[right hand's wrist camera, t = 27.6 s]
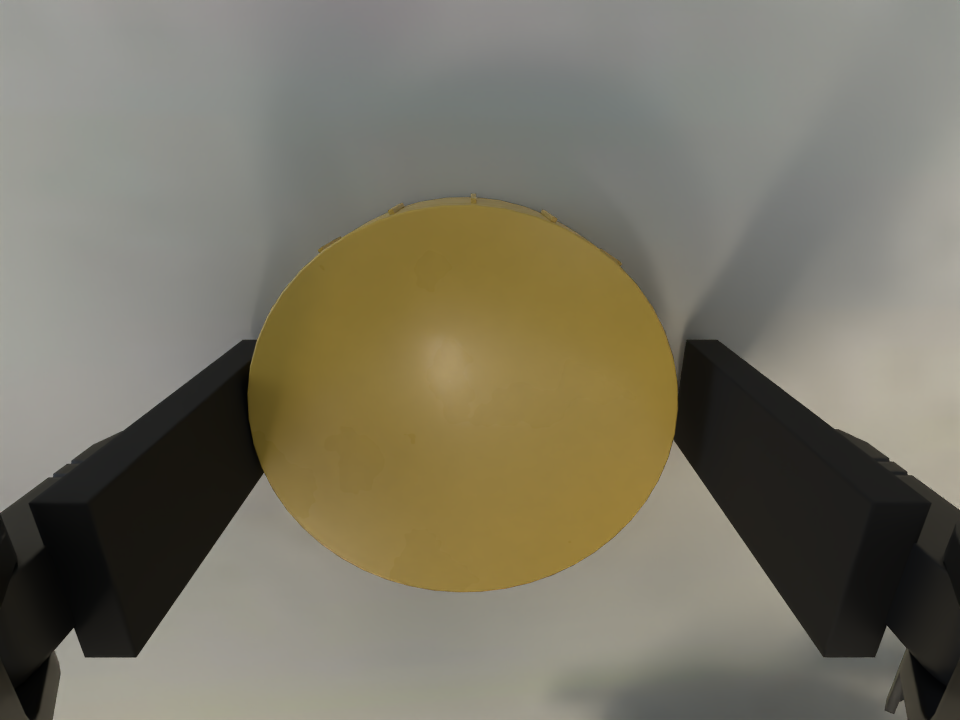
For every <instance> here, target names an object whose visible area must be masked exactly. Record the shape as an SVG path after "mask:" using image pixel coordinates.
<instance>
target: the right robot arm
mask: <svg viewBox="0 0 960 720" xmlns="http://www.w3.org/2000/svg"><path fill="white" fill-rule="evenodd" d="M256 342H257V340H242V341H241V342H239V343H238V344H237V345H236V346H234V347H233V348H232V349H230V350H229V351H228V352H226V353H225V354H224V355H222V356H221V357H220V358H218V359H217V360H216V361H214V362H213V363H212V364H211V365H209V366H208V367H207V368H205V369H204V370H203V371H201V372H200V373H199V374H197V375H196V376H195V377H193V378H192V379H191V380H189V381H188V382H187V383H186V384H184V385H183V386H182V387H180V388H179V389H178V390H176V391H175V392H174V393H172V394H171V395H170V396H168V397H167V398H166V399H165V400H163V401H162V402H161V403H159V404H158V405H157V406H155V407H154V408H153V409H151V410H150V411H149V412H147V413H146V414H145V415H143V416H142V417H141V418H140V419H138V420H137V421H136V422H134V423H133V424H132V425H130V426H129V427H128V428H126V429H125V430H124V431H121V432H119V433H117V434H115V435H113V436H111V437H109V438H106V439H104V440H102V441H100V442H98V443H96V444H94V445H92V446H91V447H89V448H88V449H87V450H85V451H84V452H83V453H81V454H80V455H79V456H77V457H76V458H74V459H73V460H72V463H71V464H66V465H65V466H64V467H62V468H61V469H60V470H58V471H57V472H55V473H54V474H53V478H47V479H46V480H45V481H43V482H42V483H41V484H39V485H38V486H36V487H35V488H34V489H32V490H31V491H30V492H28V493H27V494H26V495H24V496H23V497H22V498H20V499H19V500H17V501H16V502H15V503H13V504H12V505H11V506H9V507H8V508H7V509H5V510H4V511H3V512H1V513H0V720H53V714H54V709H55V703H56V697H57V691H58V686H59V680H60V674H61V673H60V666H59V661H58V659H57V656H56V654H55V651H54V650H55V649H56V648H57V646H58V645H59V644H60V643H61V642H62V641H63V640H64V638H65V637H66V636H67V635H68V634H69V633H70V631H71V630H72V629H73V628H74V629H75V632H76V634H77V637H78V640H79V643H80V645H81V648H82V651H83V653H84V656H85V657H137V656H138V654H139V653H140V651H141V650H142V648H143V647H144V645H145V644H146V643H147V641H148V640H149V638H150V637H151V635H152V634H153V632H154V631H155V630H156V628H157V627H158V625H159V624H160V622H161V621H162V619H163V618H164V617H165V615H166V614H167V612H168V611H169V609H170V608H171V606H172V605H173V603H174V602H175V601H176V599H177V598H178V596H179V595H180V593H181V592H182V590H183V589H184V588H185V586H186V585H187V583H188V582H189V580H190V579H191V577H192V576H193V575H194V573H195V572H196V570H197V569H198V567H199V566H200V564H201V563H202V561H203V560H204V559H205V557H206V556H207V554H208V553H209V551H210V550H211V548H212V547H213V546H214V544H215V543H216V541H217V540H218V538H219V537H220V535H221V534H222V533H223V531H224V530H225V528H226V527H227V525H228V524H229V522H230V521H231V520H232V518H233V517H234V515H235V514H236V512H237V511H238V509H239V508H240V506H241V505H242V504H243V502H244V501H245V499H246V498H247V496H248V495H249V493H250V492H251V491H252V489H253V488H254V486H255V485H256V483H257V482H258V480H259V479H260V478H261V476H262V475H263V473H264V471H263V469H262V467H261V464H260V461H259V458H258V455H257V452H256V450H255V447H254V444H253V439H252V433H251V428H250V423H249V415H248V394H247V392H248V382H249V373H250V365H251V361H252V357H253V354H254V350H255V346H256ZM673 440H674V441H675V443H676V444H677V445H678V447H679V448H680V450H681V451H682V453H683V454H684V456H685V457H686V459H687V460H688V461H689V463H690V464H691V466H692V467H693V469H694V470H695V472H696V473H697V474H698V476H699V477H700V479H701V480H702V482H703V483H704V485H705V486H706V487H707V489H708V490H709V492H710V493H711V495H712V496H713V498H714V499H715V501H716V502H717V503H718V505H719V506H720V508H721V509H722V511H723V512H724V514H725V515H726V516H727V518H728V519H729V521H730V522H731V524H732V525H733V527H734V528H735V530H736V531H737V532H738V534H739V535H740V537H741V538H742V540H743V541H744V543H745V544H746V545H747V547H748V548H749V550H750V551H751V553H752V554H753V556H754V557H755V558H756V560H757V561H758V563H759V564H760V566H761V567H762V569H763V570H764V572H765V573H766V574H767V576H768V577H769V579H770V580H771V582H772V583H773V585H774V586H775V587H776V589H777V590H778V592H779V593H780V595H781V596H782V598H783V599H784V600H785V602H786V603H787V605H788V606H789V608H790V609H791V611H792V612H793V614H794V615H795V616H796V618H797V619H798V621H799V622H800V624H801V625H802V627H803V628H804V629H805V631H806V632H807V634H808V635H809V637H810V638H811V640H812V641H813V643H814V644H815V645H816V647H817V648H818V650H819V651H820V653H821V654H822V656H823V657H875V656H876V653H877V650H878V648H879V645H880V642H881V640H882V637H883V634H884V631H885V629H886V626H888V627H889V628H890V630H891V631H892V632H893V633H894V634H895V635H896V636H897V638H898V639H899V640H900V641H901V642H902V643H903V644H904V646H905V647H906V648H907V649H906V651H905V654H904V656H903V659H902V661H901V664H900V666H899V669H898V671H897V674H896V676H895V679H894V682H893V684H892V687H891V689H890V692H889V694H888V697H887V700H886V706H885V711H887V712H890V713H892V714H894V713H895V711H896V708H897V706H898V704H899V702H900V701H902V700H904V701H905V707H906V713H907V718H908V720H960V510H959V509H957V508H956V507H955V506H953V505H952V504H951V503H949V502H948V501H947V500H945V499H944V498H942V497H941V496H940V495H938V494H937V493H936V492H934V491H933V490H931V489H930V488H929V487H927V486H926V485H925V484H923V483H922V482H921V481H919V480H918V479H916V478H915V477H914V476H912V475H908V474H907V471H905V470H904V469H903V468H901V467H900V466H899V465H897V464H896V463H895V462H890V461H889V458H888V457H886V456H885V455H884V454H882V453H881V452H880V451H878V450H877V449H875V448H874V447H873V446H871V445H870V444H869V443H867V442H865V441H863V440H861V439H858V438H856V437H854V436H852V435H850V434H848V433H845V432H843V431H841V430H839V429H834V428H832V427H831V426H830V425H828V424H827V423H826V422H825V421H823V420H822V419H821V418H819V417H818V416H817V415H815V414H814V413H813V412H811V411H810V410H809V409H807V408H806V407H805V406H803V405H802V404H801V403H800V402H798V401H797V400H796V399H794V398H793V397H792V396H790V395H789V394H788V393H786V392H785V391H784V390H782V389H781V388H780V387H779V386H777V385H776V384H775V383H773V382H772V381H771V380H769V379H768V378H767V377H765V376H764V375H763V374H761V373H760V372H759V371H757V370H756V369H755V368H754V367H752V366H751V365H750V364H748V363H747V362H746V361H744V360H743V359H742V358H740V357H739V356H738V355H736V354H735V353H734V352H733V351H731V350H730V349H729V348H727V347H726V346H725V345H723V344H722V343H721V342H719V341H718V340H686V346H685V353H684V360H683V367H682V373H681V380H680V387H679V393H678V413H677V420H676V428H675V435H674V439H673Z"/></svg>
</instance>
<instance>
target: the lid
mask: <svg viewBox="0 0 960 720" xmlns="http://www.w3.org/2000/svg"><path fill="white" fill-rule="evenodd" d="M318 251H319V254H318V255H317V256H316V257H315V258H314V259H313V260H311V261H310V262H309V263H308V264H307V265H306V266H305V267H303V268H302V269H301V270H300V271H299V273H298V274H297V275H296V276H295V277H294V279H293V280H292V281H291V282H290V283H289V284H288V286H287V287H286V288H285V289H284V290H283V291H282V293H281V295H280V296H279V298H278V300H277V301H276V303H275V304H274V305H273V307H272V308H271V311H270V312H269V314H268V316H267V318H266V320H265V323H264V325H263V327H262V330H261V332H260V334H259V337H258V339H257V342H256V346H255V350H254V354H253V357H252V361H251V365H250V373H249V382H248V392H247V394H248V415H249V423H250V428H251V433H252V439H253V444H254V447H255V450H256V452H257V455H258V458H259V461H260V464H261V467H262V469H263V471H264V473H265V475H266V477H267V479H268V481H269V483H270V485H271V487H272V489H273V490H274V492H275V493H276V495H277V496H278V498H279V499H280V501H281V502H282V503H283V505H284V506H285V508H286V509H287V511H288V512H289V513H290V514H291V515H292V516H293V517H294V518H295V520H296V521H297V522H298V523H299V524H300V525H301V526H302V527H303V528H304V529H305V530H306V531H307V532H308V533H309V534H310V535H311V536H313V537H314V538H315V539H316V540H317V541H318V542H319V543H321V544H322V545H323V546H325V547H326V548H327V549H329V550H330V551H332V552H333V553H335V554H336V555H338V556H339V557H340V558H342V559H344V560H346V561H347V562H349V563H351V564H353V565H355V566H357V567H359V568H360V569H362V570H364V571H367V572H369V573H372V574H374V575H377V576H379V577H382V578H384V579H387V580H390V581H394V582H397V583H401V584H404V585H407V586H412V587H417V588H423V589H429V590H435V591H448V592H482V591H490V590H498V589H506V588H510V587H514V586H519V585H523V584H527V583H531V582H534V581H537V580H539V579H542V578H545V577H548V576H551V575H554V574H556V573H558V572H560V571H562V570H564V569H566V568H568V567H570V566H573V565H575V564H576V563H578V562H579V561H581V560H583V559H584V558H586V557H588V556H589V555H591V554H592V553H594V552H596V551H597V550H598V549H599V548H601V547H602V546H603V545H605V544H606V543H607V542H608V541H610V540H611V539H612V538H613V537H615V536H616V535H617V534H618V533H619V532H620V531H621V530H622V529H623V528H624V527H625V526H626V525H627V524H628V523H629V522H630V521H631V520H632V518H633V517H634V516H635V514H636V513H637V512H638V511H639V509H640V508H641V507H642V506H643V504H644V503H645V502H646V500H647V499H648V497H649V495H650V494H651V492H652V490H653V489H654V487H655V485H656V484H657V482H658V480H659V478H660V476H661V473H662V471H663V469H664V466H665V464H666V462H667V459H668V457H669V453H670V449H671V446H672V442H673V439H674V435H675V428H676V420H677V413H678V383H677V377H676V370H675V364H674V358H673V355H672V352H671V349H670V346H669V342H668V339H667V336H666V333H665V331H664V329H663V327H662V324H661V322H660V321H659V319H658V317H657V315H656V313H655V311H654V309H653V307H652V305H651V304H650V303H649V301H648V300H647V298H646V297H645V295H644V294H643V293H642V291H641V290H640V288H639V287H638V285H637V284H636V283H635V282H634V281H633V280H632V279H631V278H630V277H629V275H628V274H627V273H626V272H625V271H624V270H623V269H622V268H621V267H620V266H621V265H622V263H621V262H620V261H618V260H617V259H616V258H614V257H613V256H611V255H610V254H608V253H607V252H605V251H604V250H602V249H601V248H600V249H599V248H597V247H596V246H595V245H594V244H592V243H591V242H589V241H588V240H586V239H585V238H583V237H582V236H581V235H579V234H578V233H576V232H575V231H573V230H572V229H570V228H568V227H567V226H565V225H563V224H561V223H560V222H558V221H557V218H556V217H554V216H553V215H551V214H550V213H548V212H547V211H545V210H542V211H541V213H539V212H537V211H535V210H532V209H530V208H527V207H524V206H520V205H516V204H513V203H509V202H505V201H501V200H494V199H485V198H477V197H476V194H471V197H453V198H441V199H434V200H428V201H422V202H417V203H414V204H411V205H408V206H404V204H403V203H400V204H398V205H396V206H395V207H393V208H391V209H390V210H388V213H386V214H383V215H381V216H379V217H377V218H375V219H373V220H371V221H369V222H367V223H365V224H364V225H362V226H360V227H359V228H357V229H355V230H354V231H352V232H350V233H349V234H347V235H346V236H344V237H343V238H341V237H338V238H337V239H335V240H333V241H331V242H330V243H328V244H326V245H324V246H323V247H321V248H320V249H319V250H318Z"/></svg>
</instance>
